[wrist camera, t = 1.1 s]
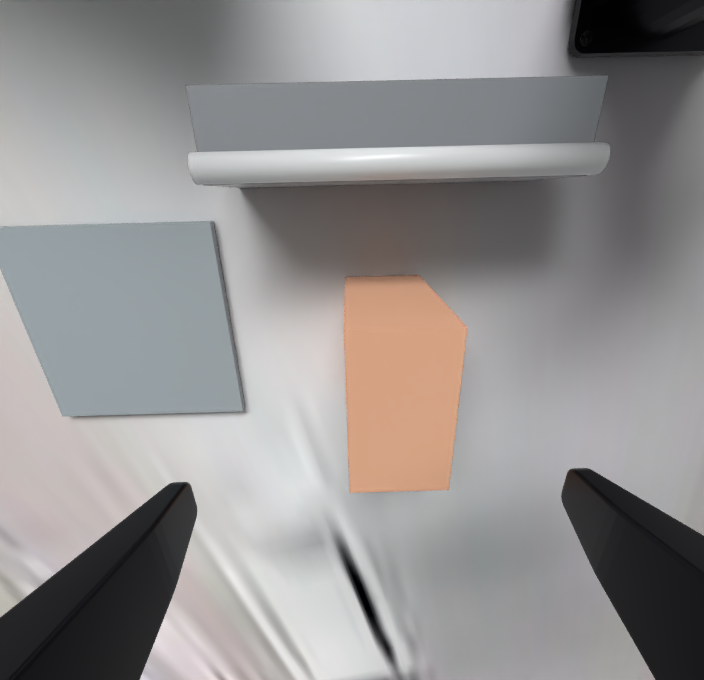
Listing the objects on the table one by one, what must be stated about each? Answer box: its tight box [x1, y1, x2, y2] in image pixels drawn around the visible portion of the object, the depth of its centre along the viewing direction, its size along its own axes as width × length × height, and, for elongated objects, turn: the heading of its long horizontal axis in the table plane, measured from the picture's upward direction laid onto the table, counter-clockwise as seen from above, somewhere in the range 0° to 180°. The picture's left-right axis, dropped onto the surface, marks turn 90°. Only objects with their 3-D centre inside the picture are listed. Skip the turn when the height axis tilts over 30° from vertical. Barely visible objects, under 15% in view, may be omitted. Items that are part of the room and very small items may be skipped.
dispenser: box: [186, 75, 610, 188], centre depth 14 cm, size 14×3×6 cm, turn 91°
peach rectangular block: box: [344, 275, 467, 493], centre depth 16 cm, size 4×7×8 cm, turn 1°
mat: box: [0, 221, 245, 416], centre depth 19 cm, size 11×11×1 cm
